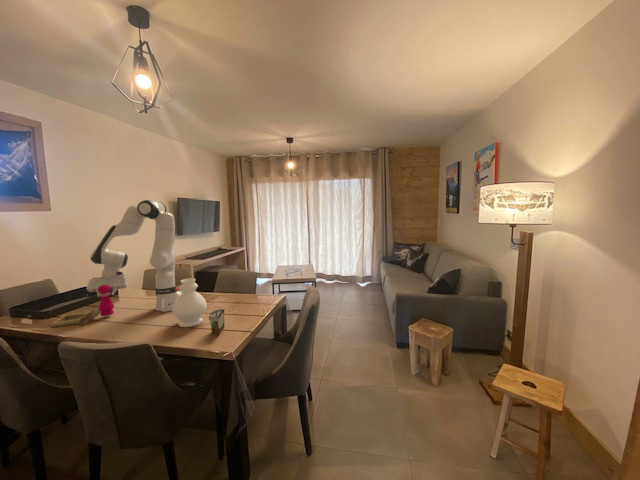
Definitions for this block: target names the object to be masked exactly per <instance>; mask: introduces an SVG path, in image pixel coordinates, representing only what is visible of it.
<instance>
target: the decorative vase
mask: <svg viewBox="0 0 640 480" xmlns="http://www.w3.org/2000/svg"><path fill="white" fill-rule="evenodd" d="M195 281H196V278H193V277H192V278H184V279H181V280H180V283H181V284H180V285H179V291H181V292H183V293H182V294H181V295H180V296H179V297H178V298H177V299H176V301H175V302H174V304H173V306H172V311H171V312H172V315H174V317H175V318H176V319H178V320H179V322H178V326H179V327H181V328H189V327H190V328H191V327H193V326H194V327H195V326H197V325H200V324H202V323H203V317H202V316H203V315H204V313H205V311H206V310H207V307H208V303H207V301H206V298H205V297H203V296H202V295H201V294H200V293H199V292H198V291H196V290H197V289H198V288H199V285H198V284H197V283H196V282H195Z"/></svg>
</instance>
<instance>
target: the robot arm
mask: <svg viewBox="0 0 640 480" xmlns="http://www.w3.org/2000/svg"><path fill="white" fill-rule="evenodd" d="M146 218H147V219H150V220H154V221H155V231H154V243H153V247H152V252H151V256H150V257H149V258H150V259H149V263H150V265H151V266H152V267H153V268H155V269H156V274H155V277H154V278H155V290H154V291H155V296H156V299H155V300H156V302H155V308H154V310H155V311H158V312H163V313H165V312H172V306H173V304H174V302H175V301H176V299H177V298H178V297H179V296H180V295H181V294H182V293H183V292H182V291H180V290H179V287H180V285H176V277H175V275H176V274H175V271H176V259H177V257H176V256H177V255H176V252H175V251H174V250H173V246H174V244H175V233H176V221H175V216H174V214H173V213H170V212H167V207H166V205H165V204H164V203H163V202H161V201H157V200H154V199H153V200H152V199H150V200H149V199H145V200H142V201H140V202H139V203H138V204H132V205H130V206H128V208H127V209H126V211H125V212H124V214H123V216H122V217H121V221H120V222H118V223H117V224H115V225H112V226H111V227H110V228H109V229H108V230H107V232H106V233H105V234H104V236H103V237H102V239H101V240H100V242H99V243H98V245H97V246H96V247H95V249H94V250H93V251H92V252H91V254H90V261H91V262H92V263H93V264H94V265H95V264H97V265H103V270H102V271H101V272H102V273H101V276H100V277H93V278H91V279H89V281H88V283H87V285H86V290H87V292H89V293H93V292H95V293H96V297H97V298H101V296H100V293H99V292H98V288H99V287H100V286H102V283H105V285H109V286H110V288H111V290H110V291H109V292H110V296H114V295H115V293H116V292H117V291H118V290H120V289H126V288H128V284H129V280H128V276H127V275H126V273H125V272H124V271H120V270H121V269H123V268H125V267H126V266H127V263H128V260H129V259H128V258H129V255H127V253H126V252H123V251H118V250H113V249H108V248H107V247H108V245H110V243H111V241H112V240H113V239H114V238H116V237H123V236H132V235H133V236H134V235H136V234H137V233H139V231H140V230H141V228H142V226H143V223H144V221H145V219H146Z"/></svg>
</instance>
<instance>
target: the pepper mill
mask: <svg viewBox="0 0 640 480" xmlns="http://www.w3.org/2000/svg"><path fill="white" fill-rule="evenodd" d="M111 291H112V290H111V288H110V286H109V285H105V283H102V286H100V287H99V288H98V292H99V293H100V296H101V297H100V303H99V306H98V307H99V310H100V311H101V313H100V317H107V316H111V315H113V314H114V313H115V311H114V308H115V304H114V302H113V301H112V299H111V297H110V296H111V295H110V292H111Z"/></svg>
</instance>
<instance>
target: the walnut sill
mask: <svg viewBox="0 0 640 480" xmlns="http://www.w3.org/2000/svg"><path fill="white" fill-rule="evenodd" d="M88 312H89V313H87V312H86V313H87V314H86V315H85V316H83V317H82V318H80V324H79V325H80V326H81V327H82V326H83V327H84V326H86V325H89V323H91V321H93V320H94V319H95V318H97V317H98V316H100V315H101V311H100V310H99V306H96V307H94V308H93V309H92V310H90V311H88Z"/></svg>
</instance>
